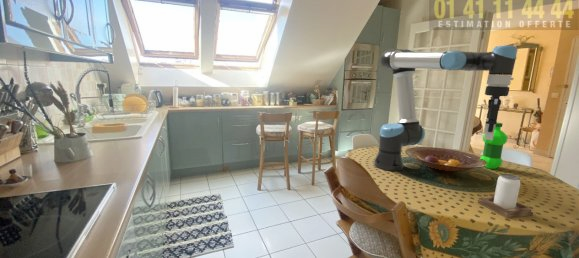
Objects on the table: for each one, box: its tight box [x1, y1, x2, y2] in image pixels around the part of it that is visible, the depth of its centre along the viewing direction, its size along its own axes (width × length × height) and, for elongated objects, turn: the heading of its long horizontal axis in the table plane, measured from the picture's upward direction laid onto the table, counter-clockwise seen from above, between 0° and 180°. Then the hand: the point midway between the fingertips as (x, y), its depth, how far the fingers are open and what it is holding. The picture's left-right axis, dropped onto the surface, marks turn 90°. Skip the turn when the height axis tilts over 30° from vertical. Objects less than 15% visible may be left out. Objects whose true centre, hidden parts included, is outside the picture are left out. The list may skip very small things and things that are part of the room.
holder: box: [477, 195, 534, 219], centre depth 97 cm, size 12×12×2 cm
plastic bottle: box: [479, 122, 508, 170], centre depth 139 cm, size 10×10×25 cm
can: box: [494, 173, 521, 210], centre depth 96 cm, size 6×6×12 cm
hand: (487, 136), depth 109 cm, fingers open, 13 cm apart
